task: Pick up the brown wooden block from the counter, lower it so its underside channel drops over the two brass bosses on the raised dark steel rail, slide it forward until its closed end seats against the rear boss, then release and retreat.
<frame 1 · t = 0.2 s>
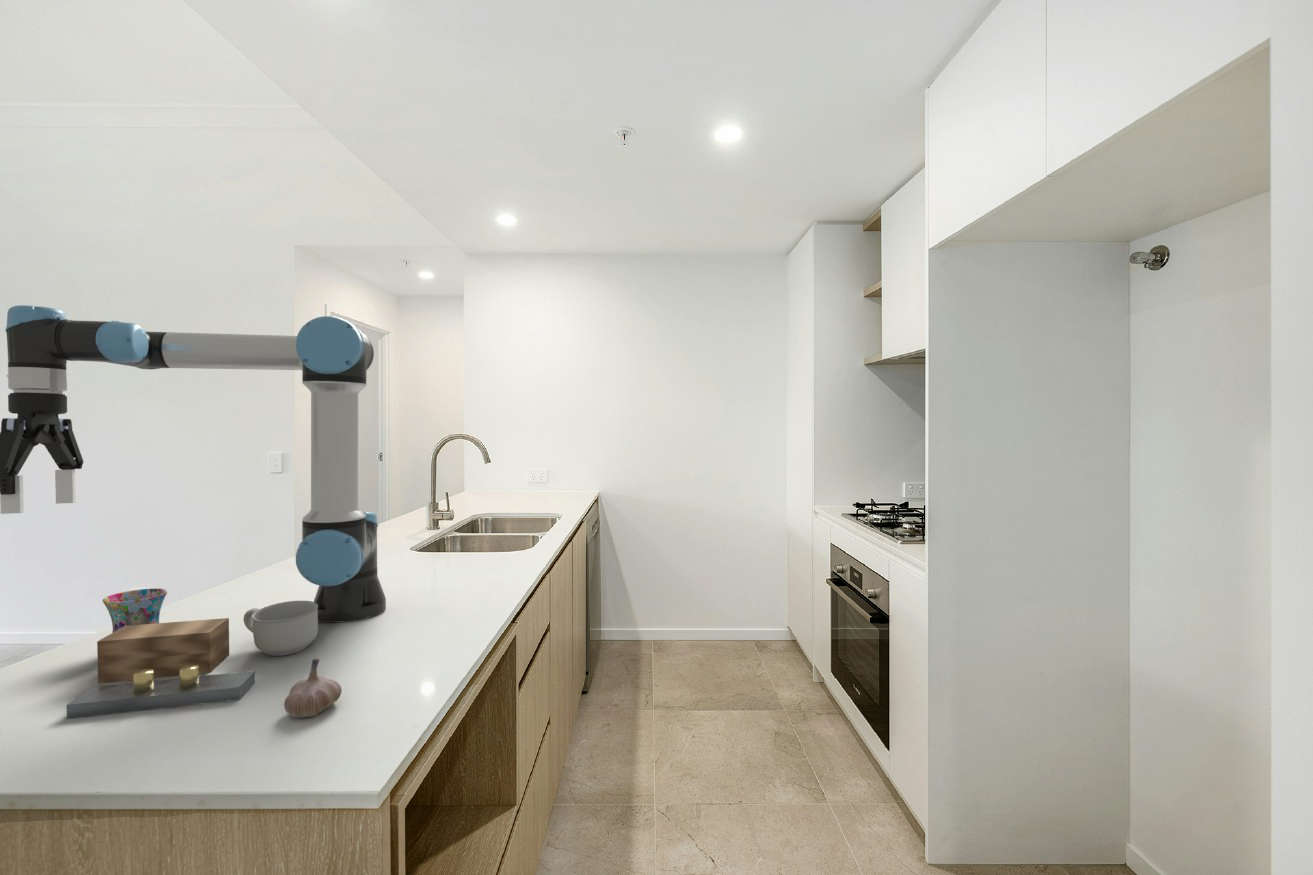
hand: (40, 508, 110), 28 cm above the worktop, fingers open, 13 cm apart
brown wooden block: (167, 668, 105), on the worktop
mount rail: (167, 699, 93), on the worktop
garlic bulb: (313, 711, 90), on the worktop
teacup: (279, 650, 114), on the worktop
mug: (140, 648, 115), on the worktop
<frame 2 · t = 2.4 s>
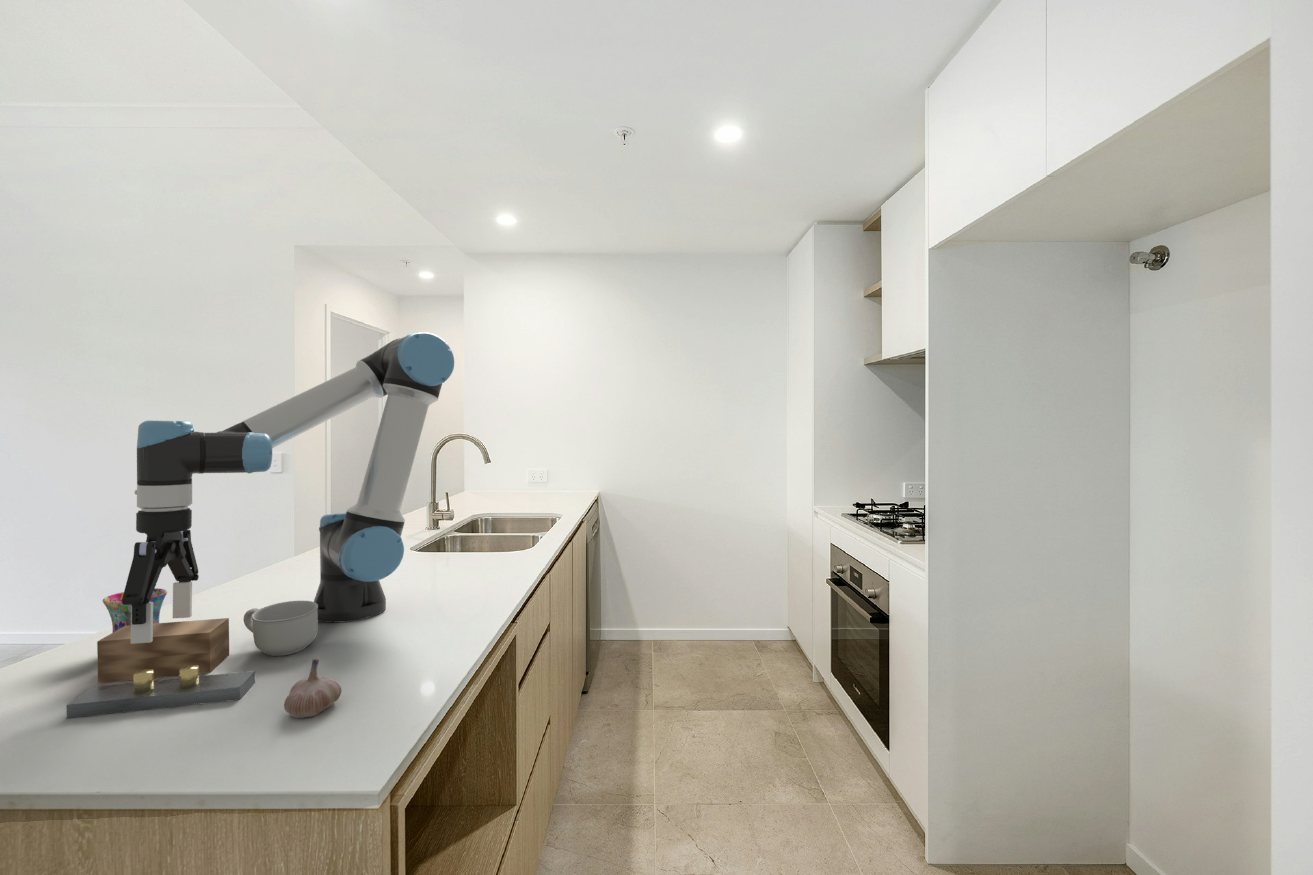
hand: (163, 629, 105), 7 cm above the worktop, fingers open, 13 cm apart
nothing on the worktop moved.
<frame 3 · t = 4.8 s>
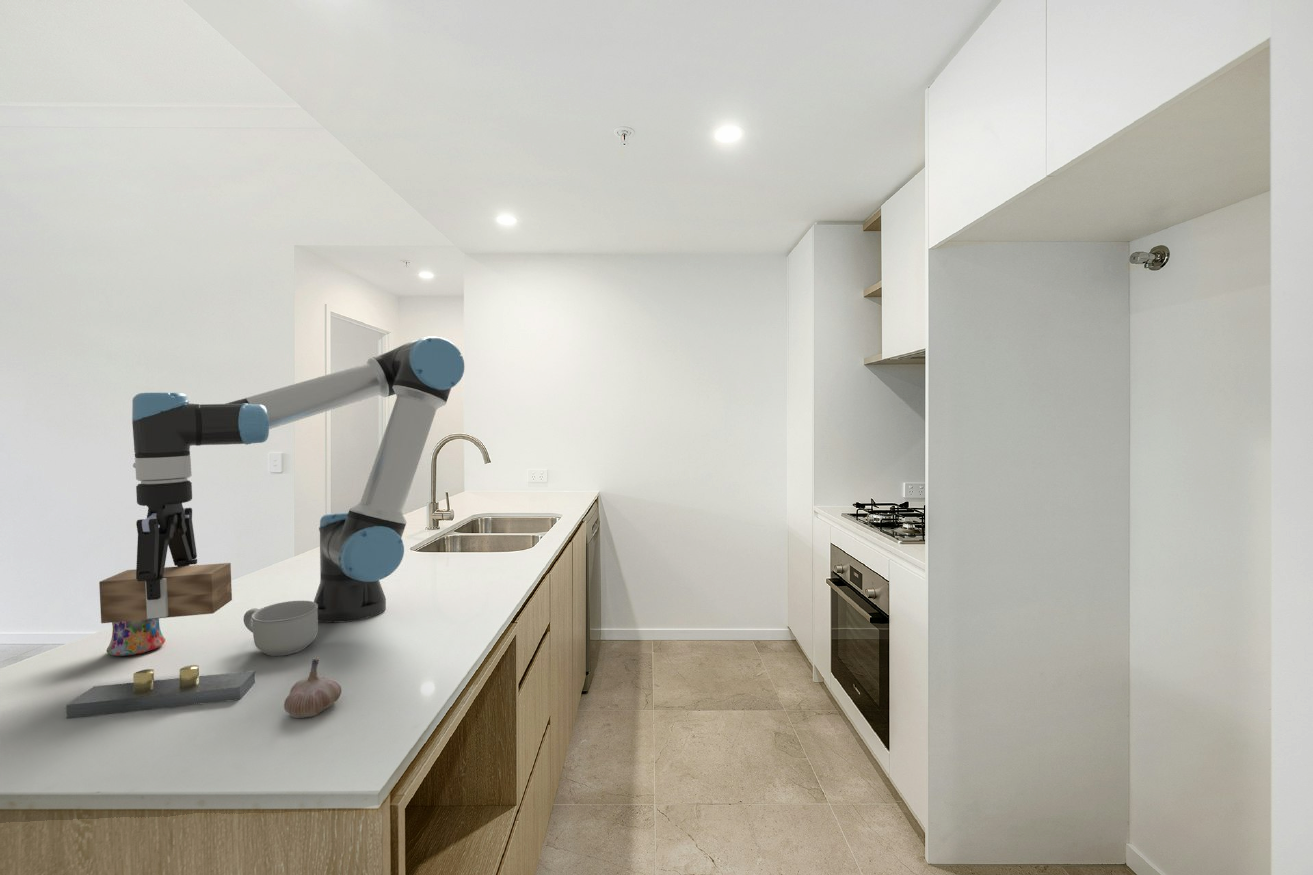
hand: (170, 608, 105), 10 cm above the worktop, fingers closed on brown wooden block, 8 cm apart
brown wooden block: (170, 610, 105), point 10 cm above the worktop, touching gripper
everything else where it was.
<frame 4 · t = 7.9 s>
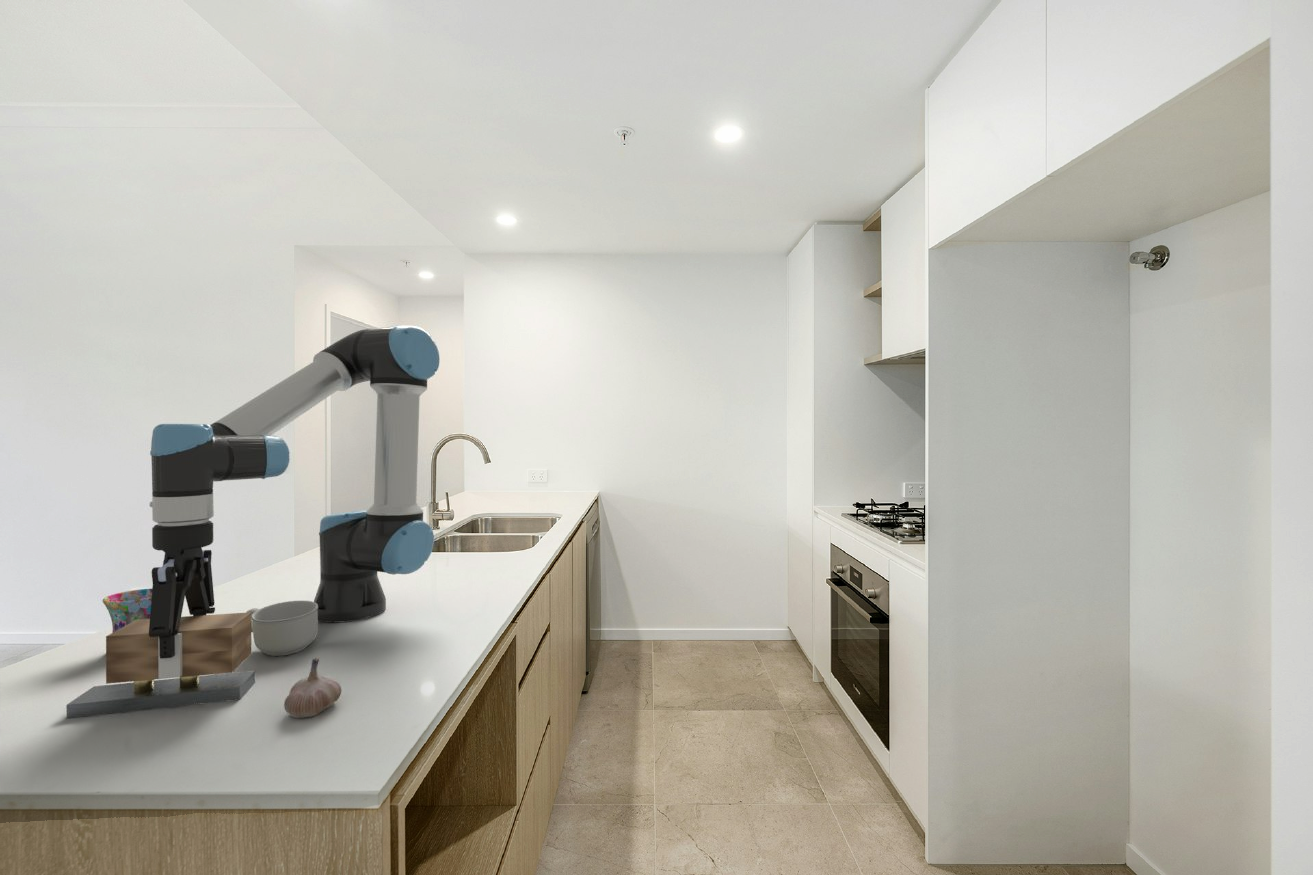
hand: (184, 665, 94), 5 cm above the worktop, fingers closed on brown wooden block, 8 cm apart
brown wooden block: (183, 667, 94), point 5 cm above the worktop, touching gripper
everything else where it was.
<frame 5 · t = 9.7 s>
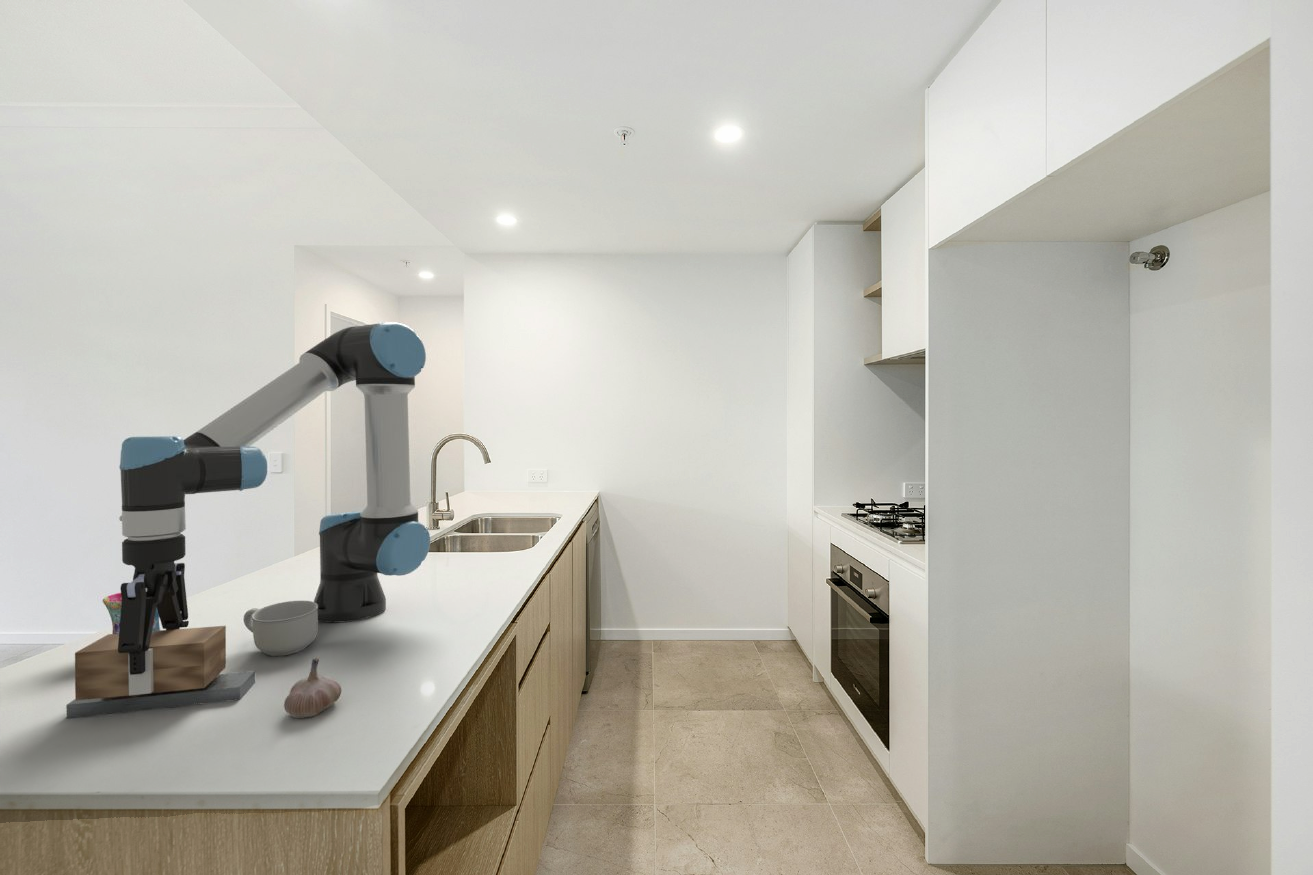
hand: (156, 680, 93), 3 cm above the worktop, fingers closed on brown wooden block, 8 cm apart
brown wooden block: (155, 682, 93), point 3 cm above the worktop, touching gripper
everything else where it was.
when the fingers open (3 cm above the worktop, at t = 11.3 s): brown wooden block stays where it is, resting on mount rail.
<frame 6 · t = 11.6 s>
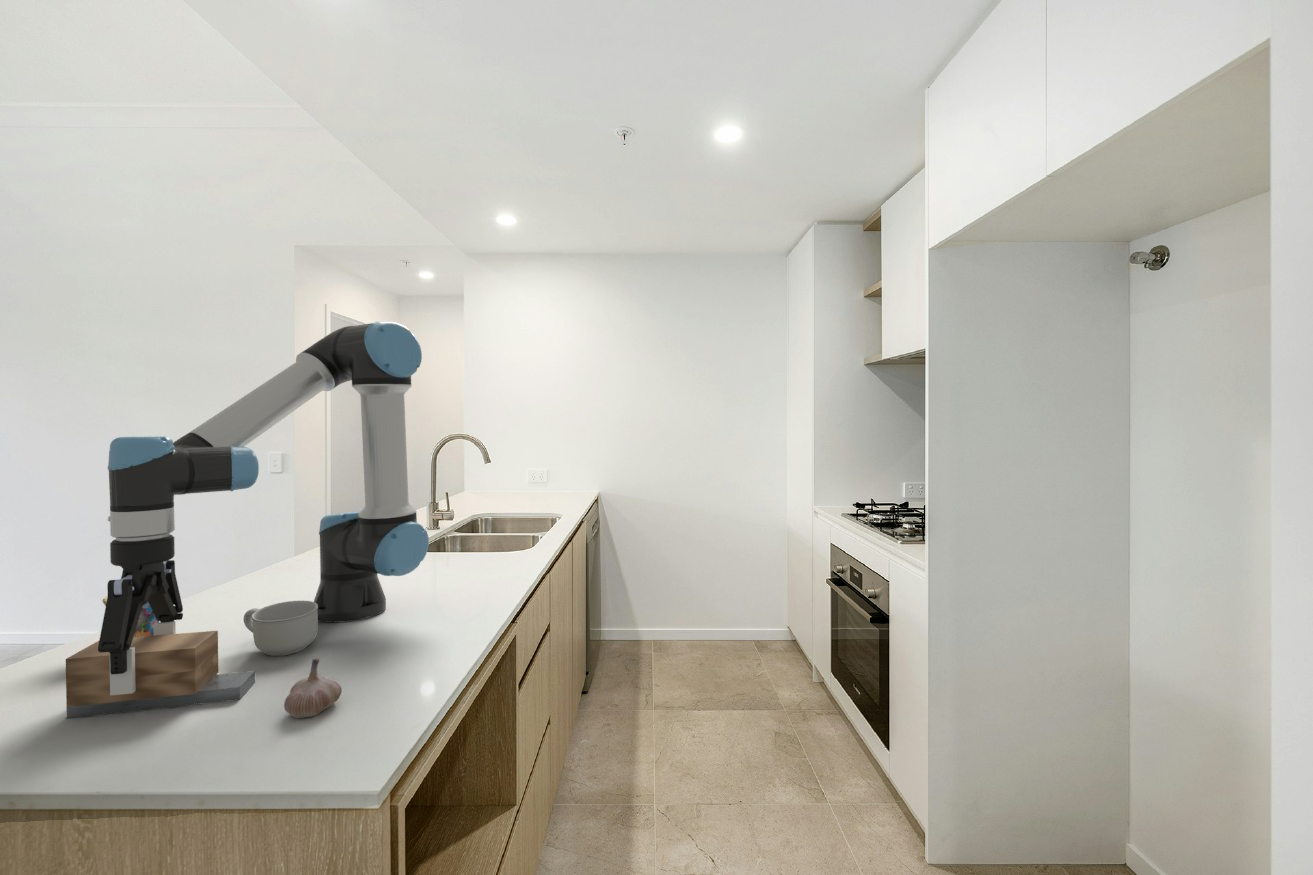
hand: (145, 676, 93), 4 cm above the worktop, fingers open, 11 cm apart
brown wooden block: (147, 688, 93), point 2 cm above the worktop, touching mount rail
everything else where it was.
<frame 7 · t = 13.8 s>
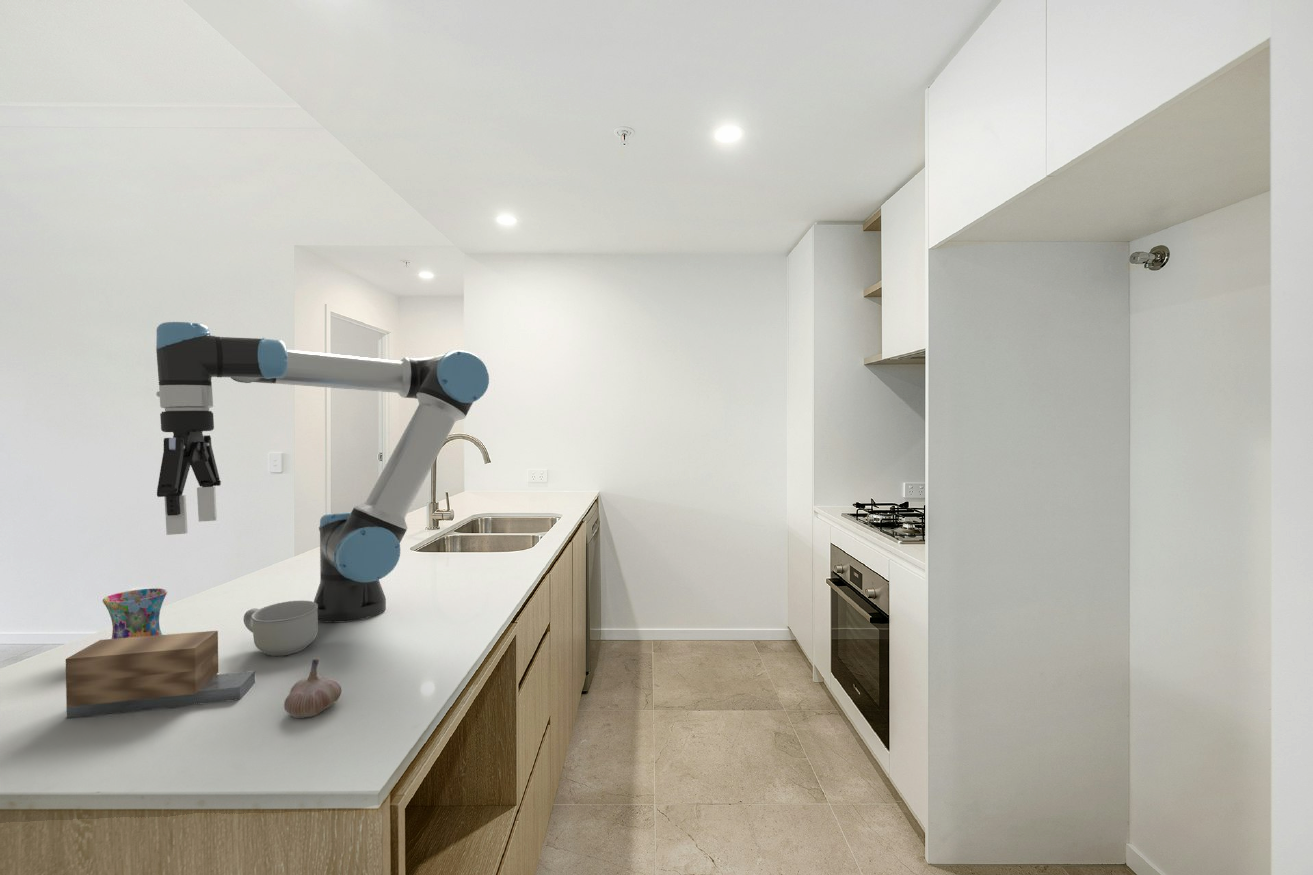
hand: (193, 527, 108), 24 cm above the worktop, fingers open, 13 cm apart
nothing on the worktop moved.
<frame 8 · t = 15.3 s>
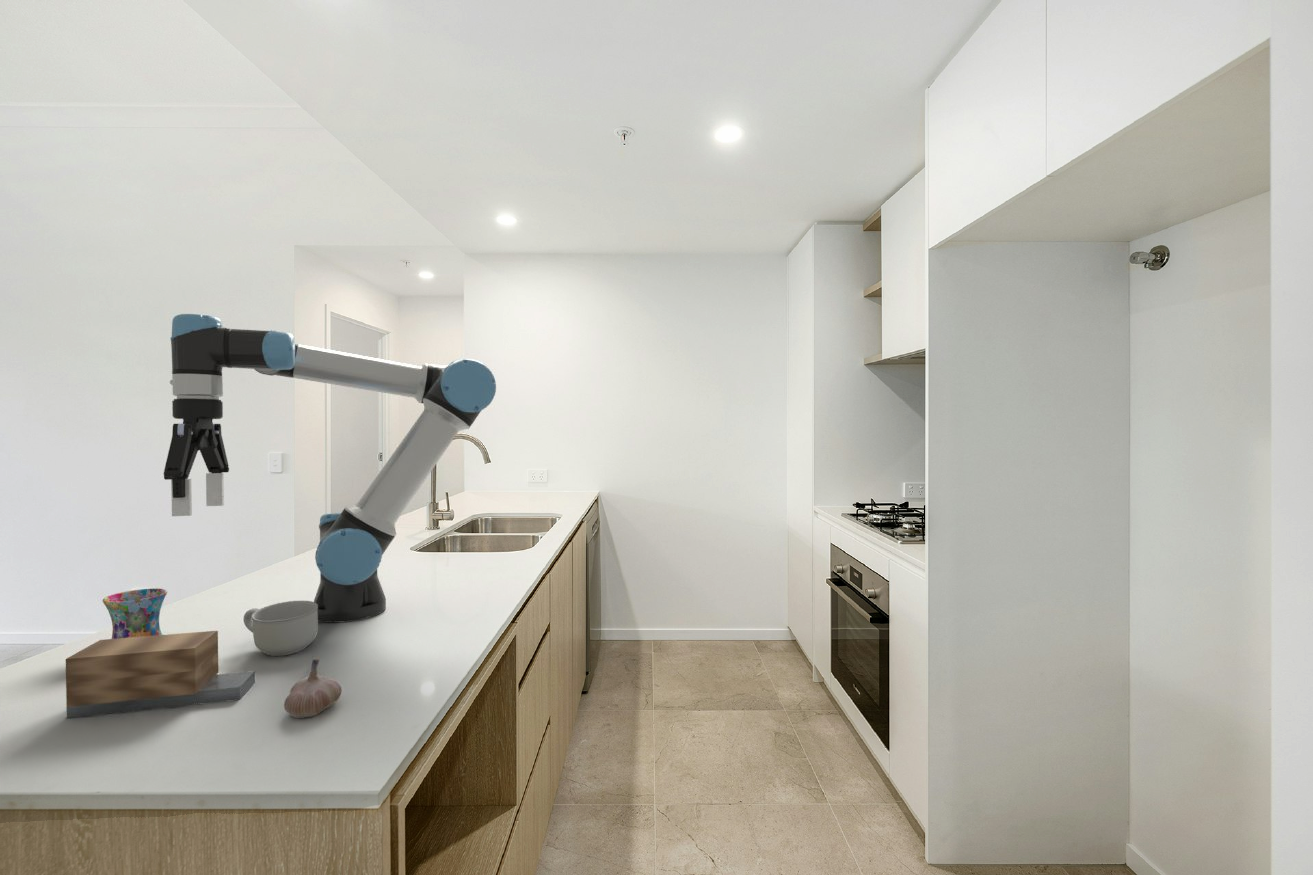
hand: (199, 510, 113), 27 cm above the worktop, fingers open, 13 cm apart
nothing on the worktop moved.
at the end: brown wooden block 0.1 cm from the target spot on the mount rail, point 2.0 cm above the mount rail's base; brown wooden block tilted 0°; the gripper is holding nothing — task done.
